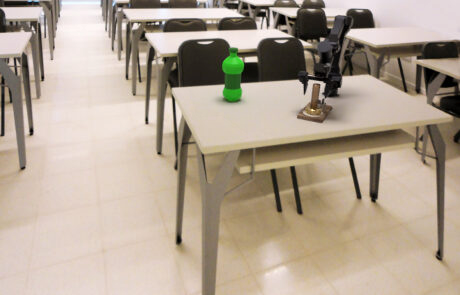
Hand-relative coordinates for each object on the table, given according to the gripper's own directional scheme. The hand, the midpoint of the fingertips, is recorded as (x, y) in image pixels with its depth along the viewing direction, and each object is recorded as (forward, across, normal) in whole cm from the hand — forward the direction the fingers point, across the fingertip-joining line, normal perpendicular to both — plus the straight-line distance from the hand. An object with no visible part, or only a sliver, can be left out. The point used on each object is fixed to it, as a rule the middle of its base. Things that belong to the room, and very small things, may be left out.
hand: (314, 96), depth 161 cm
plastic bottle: (+5, -41, +9) cm, 42 cm away
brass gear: (+5, 0, +7) cm, 8 cm away
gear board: (+3, 0, +11) cm, 11 cm away
